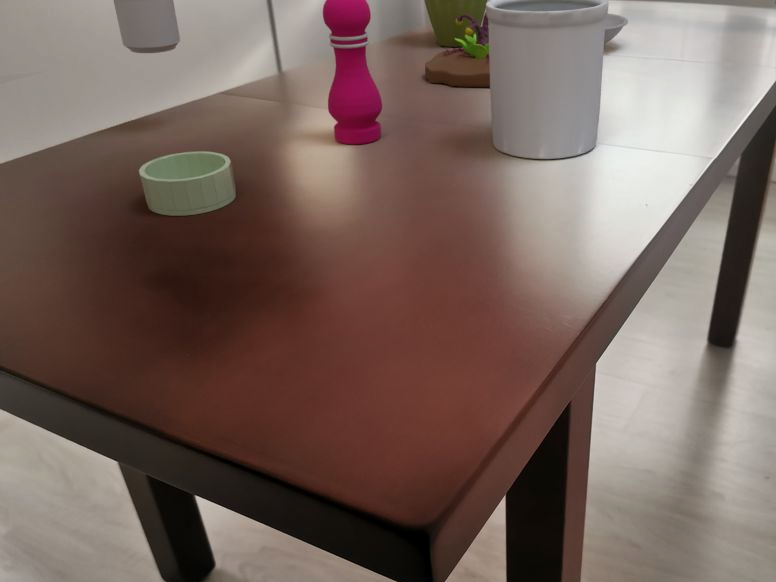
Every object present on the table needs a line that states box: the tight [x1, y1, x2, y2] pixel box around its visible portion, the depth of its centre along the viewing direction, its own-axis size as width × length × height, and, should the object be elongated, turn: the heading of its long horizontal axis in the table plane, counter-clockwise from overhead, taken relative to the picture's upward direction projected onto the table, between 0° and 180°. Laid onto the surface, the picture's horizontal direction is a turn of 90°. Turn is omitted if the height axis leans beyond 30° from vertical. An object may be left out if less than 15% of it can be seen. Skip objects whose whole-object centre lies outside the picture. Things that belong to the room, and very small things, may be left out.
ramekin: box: [138, 150, 237, 217], centre depth 91 cm, size 10×10×4 cm
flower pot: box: [423, 0, 488, 48], centre depth 157 cm, size 15×15×16 cm
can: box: [113, 0, 181, 54], centre depth 108 cm, size 8×8×12 cm
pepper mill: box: [322, 0, 383, 146], centre depth 105 cm, size 7×7×20 cm
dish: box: [604, 13, 629, 44], centre depth 154 cm, size 18×14×5 cm
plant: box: [424, 11, 490, 88], centre depth 136 cm, size 20×20×11 cm
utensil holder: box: [485, 0, 609, 160], centre depth 102 cm, size 15×15×18 cm
